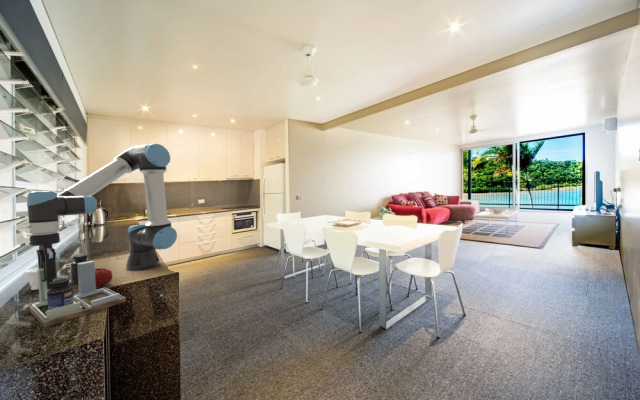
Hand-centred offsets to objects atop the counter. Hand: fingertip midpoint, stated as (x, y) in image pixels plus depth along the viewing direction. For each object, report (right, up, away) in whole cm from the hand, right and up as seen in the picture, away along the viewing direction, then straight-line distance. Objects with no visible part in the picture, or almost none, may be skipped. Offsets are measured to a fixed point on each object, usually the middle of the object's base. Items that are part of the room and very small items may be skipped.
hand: (48, 296), depth 96 cm
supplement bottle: (-9, -2, +23) cm, 25 cm away
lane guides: (+14, -2, -3) cm, 14 cm away
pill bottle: (+13, -3, -8) cm, 16 cm away
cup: (-22, -2, +17) cm, 28 cm away
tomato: (+5, -2, +16) cm, 17 cm away
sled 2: (+16, -2, +2) cm, 16 cm away
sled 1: (+8, -2, -5) cm, 9 cm away
